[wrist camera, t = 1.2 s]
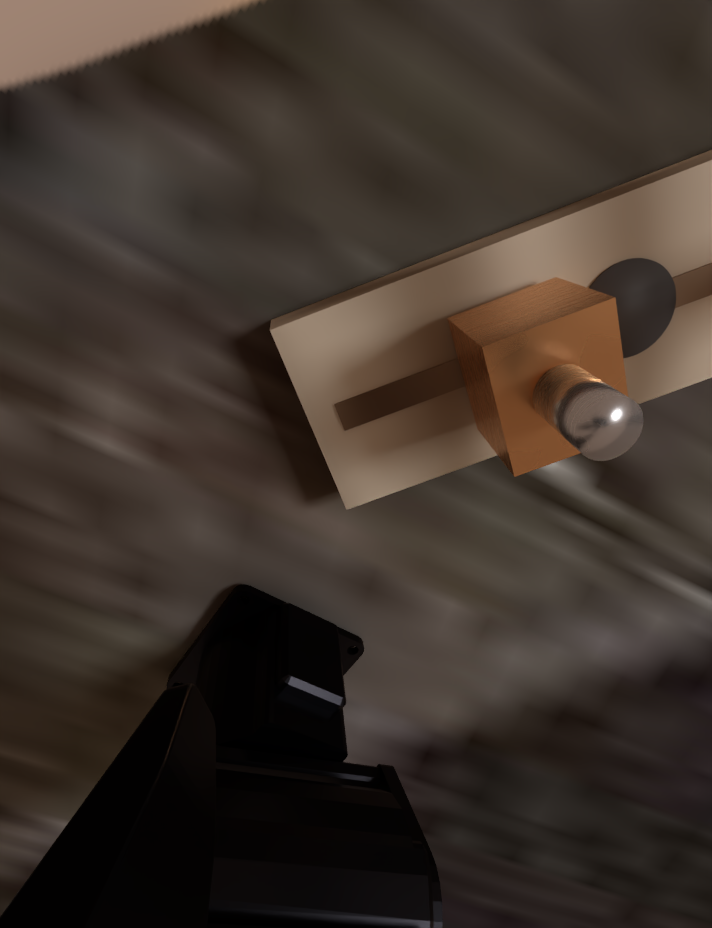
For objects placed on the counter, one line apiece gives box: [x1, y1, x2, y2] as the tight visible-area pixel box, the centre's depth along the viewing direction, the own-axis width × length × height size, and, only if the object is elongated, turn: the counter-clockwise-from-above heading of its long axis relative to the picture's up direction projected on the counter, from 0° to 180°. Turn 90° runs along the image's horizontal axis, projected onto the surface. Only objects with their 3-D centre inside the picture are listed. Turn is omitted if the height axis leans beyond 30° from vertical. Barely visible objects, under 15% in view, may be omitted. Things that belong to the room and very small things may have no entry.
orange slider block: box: [447, 277, 643, 477], centre depth 15 cm, size 4×4×6 cm
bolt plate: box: [270, 150, 712, 510], centre depth 16 cm, size 21×7×8 cm, turn 109°
